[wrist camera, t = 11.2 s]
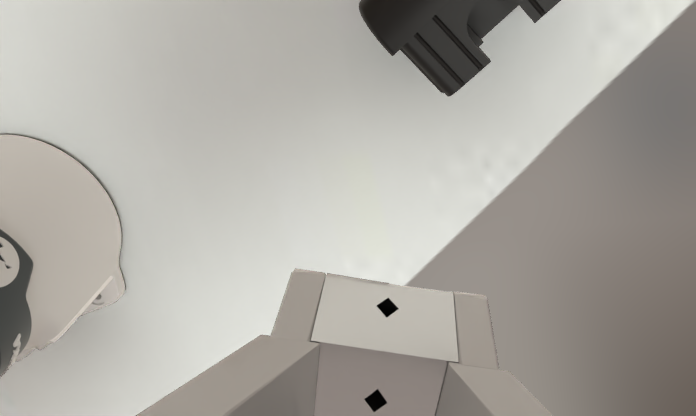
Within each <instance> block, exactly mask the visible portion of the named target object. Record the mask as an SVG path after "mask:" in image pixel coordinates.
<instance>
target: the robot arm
mask: <svg viewBox="0 0 696 416" xmlns="http://www.w3.org/2000/svg"><path fill="white" fill-rule="evenodd" d="M121 242H122V234H121V226H120V222H119V218H118V215H117V212H116V209H115V207H114V205H113V203H112V201H111V199H110V197H109V196H108V194H107V193H106V191H105V190H104V188H103V187H102V186H101V184H100V183H99V182H98V181H97V179H96V178H95V177H94V176H93V175H92V174H91V173H90V172H89V171H88V170H87V169H86V168H85V167H84V166H82V165H81V164H80V163H79V162H78V161H76V160H75V159H74V158H72V157H71V156H69V155H68V154H66V153H64V152H63V151H61V150H59V149H57V148H55V147H53V146H51V145H49V144H47V143H44V142H42V141H39V140H36V139H32V138H28V137H24V136H18V135H0V377H1V376H2V375H3V374H5V372H6V371H7V370H8V369H9V368H10V367H11V366H12V364H13V363H14V362H17V361H20V360H22V359H23V358H25V357H26V356H28V355H29V354H30V353H31V352H32V351H33V350H34V349H35V348H37V349H38V350H42V349H44V348H45V347H47V346H48V345H49V344H50V343H54V342H56V341H57V340H58V339H59V338H61V337H62V336H63V334H64V333H65V332H66V331H67V330H68V329H69V328H70V327H71V325H72V324H73V323H74V322H75V321H76V320H77V319H78V317H79V316H81V315H84V314H86V313H89V312H92V311H94V310H97V309H99V308H102V307H105V306H107V305H110V304H112V303H115V302H116V301H118V300H119V298H120V297H121V296H122V295H123V294H124V292H125V284H124V279H123V276H122V273H121V270H120V267H119V256H120V250H121ZM99 293H100V294H99ZM136 416H553V415H552V414H551V413H550V412H549V411H548V410H547V409H546V408H545V407H544V406H543V405H542V404H541V403H540V402H539V401H538V400H537V399H536V398H535V397H534V396H533V395H532V394H531V393H530V392H529V391H528V390H527V389H526V388H525V387H524V386H523V385H522V384H521V383H520V382H519V380H518V379H517V378H516V377H515V376H514V375H513V374H512V373H511V372H509V371H504V370H500V369H499V363H498V357H497V351H496V346H495V340H494V334H493V328H492V322H491V316H490V310H489V304H488V299H487V298H486V296H485V295H480V294H472V293H463V292H446V291H438V290H431V289H424V288H416V287H408V286H401V285H394V284H389V283H385V282H378V281H372V280H366V279H360V278H354V277H348V276H342V275H336V274H330V273H327V275H326V274H325V273H323V272H316V271H309V270H302V269H295V270H294V271H293V272H292V273H291V276H290V279H289V282H288V285H287V288H286V291H285V294H284V297H283V300H282V303H281V306H280V309H279V312H278V315H277V318H276V321H275V324H274V327H273V330H272V333H271V336H268V335H260V336H258V337H257V338H255V339H253V340H252V341H250V342H249V343H247V344H246V345H244V346H243V347H241V348H240V349H238V350H236V351H235V352H233V353H232V354H230V355H229V356H227V357H226V358H224V359H223V360H221V361H219V362H218V363H216V364H215V365H213V366H212V367H210V368H209V369H207V370H206V371H204V372H202V373H201V374H199V375H198V376H196V377H195V378H193V379H192V380H190V381H189V382H187V383H185V384H184V385H182V386H181V387H179V388H178V389H176V390H175V391H173V392H172V393H170V394H168V395H167V396H165V397H164V398H162V399H161V400H159V401H158V402H156V403H155V404H153V405H151V406H150V407H148V408H147V409H145V410H144V411H142V412H141V413H139V414H138V415H136Z"/></svg>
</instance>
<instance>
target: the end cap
mask: <svg viewBox="0 0 696 416" xmlns="http://www.w3.org/2000/svg"><path fill="white" fill-rule="evenodd" d="M559 1H561V0H361V1H360V3H359V10H360V13H361V16H362V18H363V20H364V21H365V23H366V24H367V26H368V27H369V29H370V30H371V32H372V33H373V34H374V36H375V37H376V38H377V39H378V41H379V42H380V43H381V44H382V45H383V47H384V48H385V49H386V50H387V51H388V52H389V53H390V54H391V55H392V56H393V55H394V54H395V53H396V52H397V51H399V50H401V51H402V52H403V53H404V54H405V55H406V56H407V57H408V58H409V59H410V60H411V61H412V62H413V63H414V64H415V66H416V67H417V68H418V69H419V70H420V71H421V72H422V73H423V74H424V75H425V76H426V77H427V78H428V79H429V80H430V81H431V82H432V83H433V84H434V85H435V86H436V87H437V89H438V90H439V91H440V92H442V93H445V94H446V95H447V96H451V95H453V94H454V93H455V92H457V91H458V90H459V89H460V88H461V87H462V86H464V85H465V84H466V83H467V82H468V81H469V80H470V79H472V78H473V77H474V76H475V75H476V74H477V73H478V72H480V71H481V70H482V69H483V68H484V67H485V66H486V65H488V64H489V63H490V62H491V61H490V59H489V58H488V57H487V56H486V55H485V54H484V52H483V51H482V50H481V49H480V48H479V46H480V45H481V44H482V43H483V41H482V40H481V39H482V38H483V37H484V36H485V35H486V34H487V33H488V32H489V31H490V30H492V29H493V28H494V27H495V26H496V25H497V24H498V23H499V22H500V21H502V20H503V19H504V18H505V17H506V16H507V15H508V14H509V13H510V12H512V11H513V10H514V9H515V8H516V7H517V6H518V5H520V6H521V8H522V9H523V10H524V11H525V12H526V13H527V15H528V16H529V17H530V18H531V19H532V20H533V22H534V23H536V22H537V21H538V20H539V19H540V18H541V17H542V16H543V15H545V14H546V13H547V12H548V11H549V10H550V9H551V8H553V7H554V6H555V5H556V4H557V3H558V2H559Z"/></svg>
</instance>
